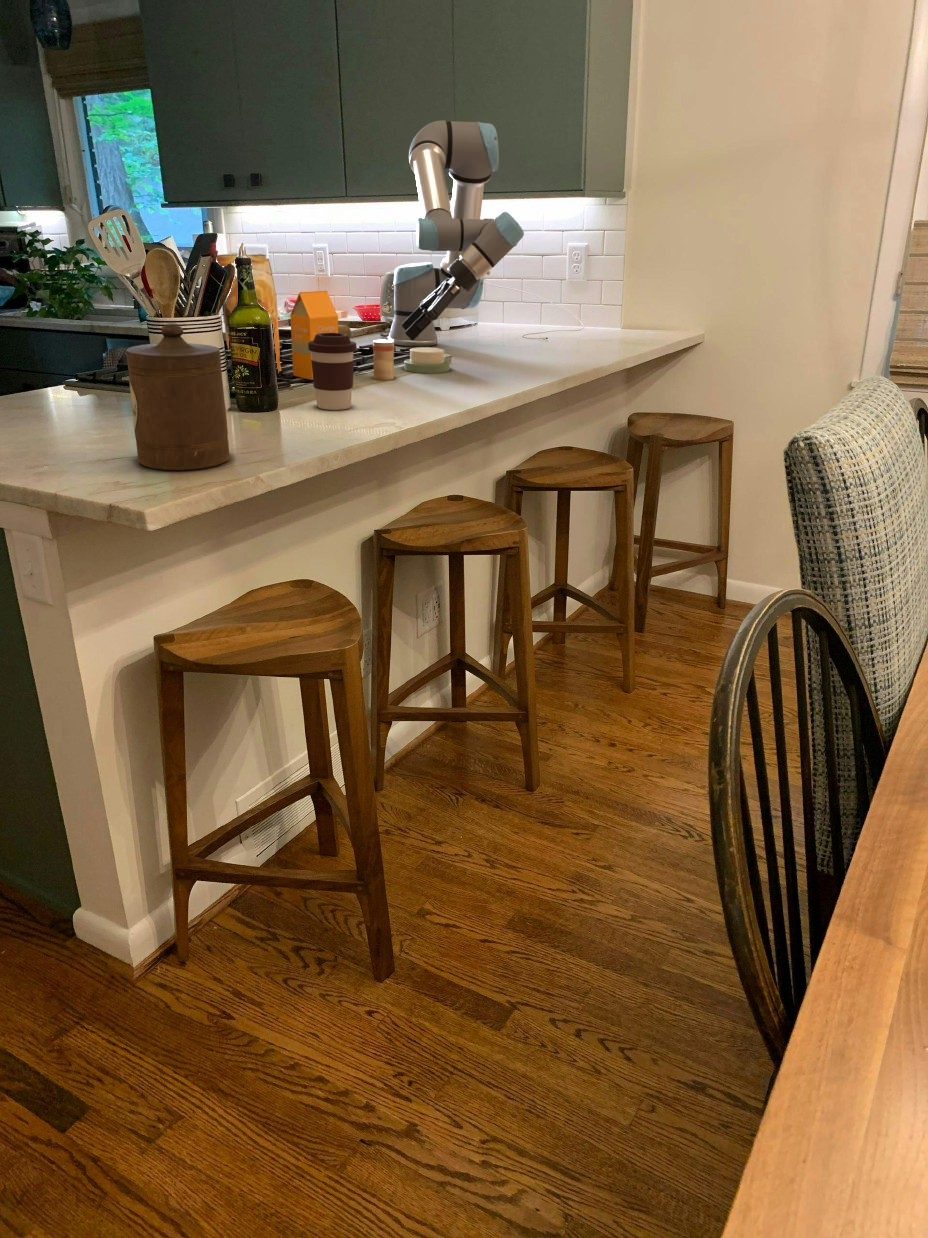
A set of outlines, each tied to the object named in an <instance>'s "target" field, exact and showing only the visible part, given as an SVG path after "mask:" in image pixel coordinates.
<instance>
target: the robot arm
mask: <svg viewBox="0 0 928 1238" xmlns="http://www.w3.org/2000/svg"><path fill="white" fill-rule="evenodd" d="M499 152H500V151H499V138H498V133H497V129H496V127H495V126H494V124H492V123H488V122H487V123H486V122H481V121H454V120H436V121H433V122H430V123H427V124H426V125H424V126H423V127H422V128H421V129H420V130H419V131H417V133H416V134H415V136H414V137H413V139H412V140H411V143H410V146H409V149H408V162H409V167H410V169H411V171H412V172H413V173H414V175H415V176H414V177H415V182H416V187H417V194H418V201H419V206H420V213H421V217H420V218H418V219H417V220H416V225H415V227H416V228H415V237H416V246H417V248H418V249H419V250H420V251H429V252H430V251H431V252H446V257H444V258H443V259H442V260H441V262H440V267H434V265H433V263H432V262H417V263H416V262H415V263H407V264H402V265H398V266H397V267H396V268H395V269H394V274H393V275H394V276H393V319H392V323H391V327H390V331H389V333H380V337H382V338H387V340H392V341H394V346H401V347H431V346H436V345H438V335H437V333H436V329H435V323H434V321H436V320H438V319H439V317H440V316H441V315H442V313H443V312H444V311H445V310H446V309H460V310H465V309H474V308H476V307H477V306H478V305H479V304H480V303H481V299H482V295H483V291H484V282H485V281H484V279H485V278H484V277H485V276H490V275H491V270H492V269H493V268H494V267H495V266H497V264H499V262H500V261H502V259H503V258H504V257H506V255H508V253H510V252H511V251H512V250H513V248H514V247H516V246H517V245H518V243H519V242H520V241H521V240H522V239H523V238H524V236H525V231H524V230H523V228H522V226H521V225H520V223H518V221H517V220H516V219H515V218H514V217H513V215H511V213H509V212H507V211H503V212H501V213H500V214H499V215H498V216H496V217H495V218H487V217H486V218H483V219H482V218H481V216H482V215H481V214H482V206H483V199H484V198H483V197H484V188H485V184H487V183H488V182H489V181H490V180H491V177H492V176H491V175H492V173H495V172H497V171H498V170H499V163H500V154H499ZM445 170H448V175H449V177H450V178H451V179H452V180H453V186H452V195H451V196H452V197H451V202H450V196H449V191H448V186H447V180H446V175H445V174H446V173H445Z"/></svg>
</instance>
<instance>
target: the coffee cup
mask: <svg viewBox="0 0 928 1238" xmlns="http://www.w3.org/2000/svg"><path fill="white" fill-rule="evenodd" d="M308 349H309V350H310V351H311V352H312V360H311V363H312V373H313V380H312V383H313V388H314V391H315V400H316V401H315V402H316V406H317V408H319V409H321V410H327V411H343V410H348V409H350V408H351V406H352V390H353V387H354V374H355V373H354V369H355V360H354V352H356V351H357V343H356V342H355V341H352V340H351V337H350V338H349V336H348V335H347V334H343V333H319V334H316V335H315V338H314V340H313V341H310V342H308Z"/></svg>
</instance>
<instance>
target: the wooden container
mask: <svg viewBox="0 0 928 1238" xmlns="http://www.w3.org/2000/svg"><path fill="white" fill-rule="evenodd" d="M160 331H161V332H160V333H161V335H162V336H163V337H162V338H161V339H160V340H159V342H158V343H146V344H140V345H134V346H131V347H128V348H127V349H126V363H127V368H128V379H129V392H130V399H131V411H132V423H133V430H134V437H135V445H136V452H137V459H138V463H140V464H141V465H142V466H144V467H147V468H151V469H155V470H163V471H190V470H192V471H193V470H201V469H207V468H212V467H216V466H219V465H222V464H223V463H227V461H228V460H230V443H229V435H228V434H229V431H228V419H227V411H226V410H227V408H226V401H225V390H224V382H223V381H224V380H223V371H222V356H221V349H220V348H219V347H218V346H214V345H210V344H202V343H189V342H187V341H186V340H185V339H184V338H183V337H182V335H183V334H184V329H183V328H182V326H180V325H178V324H177V323H173V322H172V323H169V322H168V323H166V324H165V325H163V326H161V329H160Z"/></svg>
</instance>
